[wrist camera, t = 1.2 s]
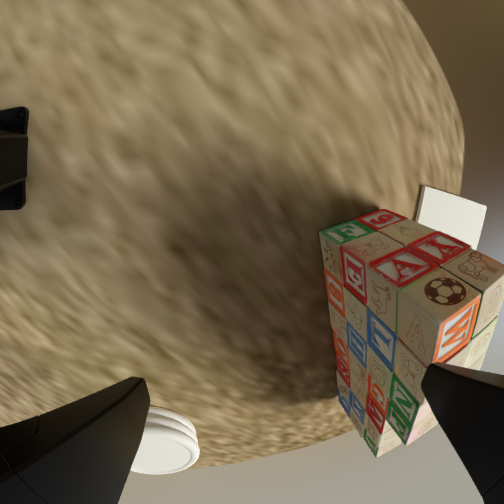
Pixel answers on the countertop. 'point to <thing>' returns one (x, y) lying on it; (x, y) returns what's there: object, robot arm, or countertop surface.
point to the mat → (451, 215)
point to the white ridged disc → (166, 443)
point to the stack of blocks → (403, 318)
